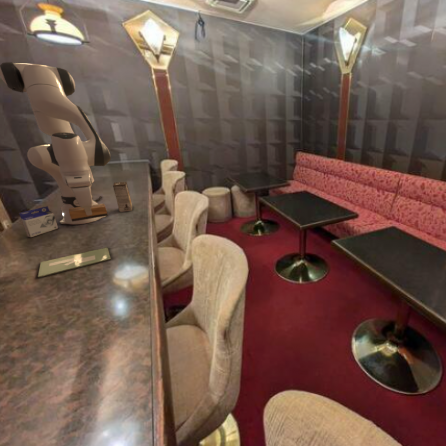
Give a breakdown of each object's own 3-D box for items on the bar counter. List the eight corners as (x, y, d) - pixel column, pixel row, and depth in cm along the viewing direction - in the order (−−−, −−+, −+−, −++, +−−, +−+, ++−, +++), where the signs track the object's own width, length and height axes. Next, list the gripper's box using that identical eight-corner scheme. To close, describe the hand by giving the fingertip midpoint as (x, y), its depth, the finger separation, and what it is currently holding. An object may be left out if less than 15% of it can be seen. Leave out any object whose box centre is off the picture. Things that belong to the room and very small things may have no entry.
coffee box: (120, 207, 152) (113, 182, 146) (132, 206, 155) (126, 181, 149) (119, 212, 145) (112, 185, 139) (132, 210, 148) (126, 184, 142)
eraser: (72, 218, 97) (68, 208, 96) (106, 212, 104) (103, 203, 102) (72, 221, 93) (68, 211, 92) (107, 215, 100) (105, 206, 99)
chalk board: (41, 263, 91) (40, 262, 91) (107, 248, 104) (107, 247, 104) (38, 277, 83) (37, 276, 83) (110, 259, 96) (110, 258, 95)
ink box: (31, 237, 110) (21, 213, 106) (27, 237, 111) (17, 213, 107) (59, 228, 121) (51, 206, 117) (55, 227, 121) (47, 205, 117)
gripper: (67, 175, 98) (77, 208, 103) (67, 183, 84) (79, 221, 89) (87, 173, 102) (96, 205, 107) (90, 181, 88) (101, 217, 93)
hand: (89, 212), depth 98 cm, fingers closed on eraser, 5 cm apart
